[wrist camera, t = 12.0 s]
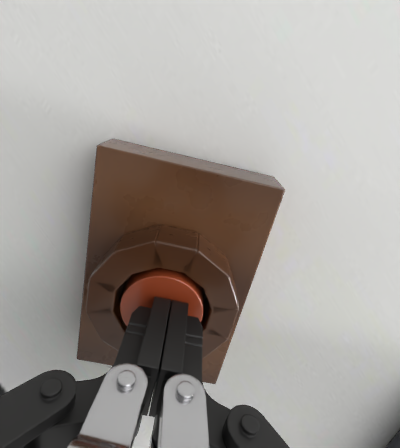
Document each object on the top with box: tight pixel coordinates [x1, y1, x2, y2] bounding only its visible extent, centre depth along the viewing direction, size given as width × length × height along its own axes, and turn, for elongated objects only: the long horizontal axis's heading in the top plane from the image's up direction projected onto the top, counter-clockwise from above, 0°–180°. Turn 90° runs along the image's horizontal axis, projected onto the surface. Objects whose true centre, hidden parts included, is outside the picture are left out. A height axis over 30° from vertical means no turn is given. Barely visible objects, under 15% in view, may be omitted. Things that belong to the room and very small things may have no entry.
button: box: [120, 268, 203, 326], centre depth 14 cm, size 4×4×2 cm
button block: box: [77, 139, 285, 384], centre depth 15 cm, size 12×8×4 cm, turn 167°
